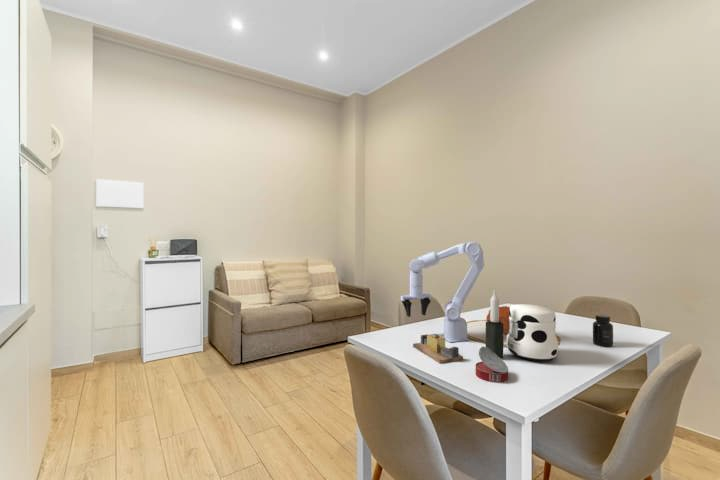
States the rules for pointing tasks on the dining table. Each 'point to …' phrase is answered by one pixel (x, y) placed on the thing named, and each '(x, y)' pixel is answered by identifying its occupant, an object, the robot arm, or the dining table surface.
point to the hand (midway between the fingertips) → (416, 315)
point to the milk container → (532, 332)
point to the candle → (494, 328)
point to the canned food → (491, 367)
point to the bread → (503, 317)
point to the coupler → (435, 342)
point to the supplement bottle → (603, 331)
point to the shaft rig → (439, 357)
